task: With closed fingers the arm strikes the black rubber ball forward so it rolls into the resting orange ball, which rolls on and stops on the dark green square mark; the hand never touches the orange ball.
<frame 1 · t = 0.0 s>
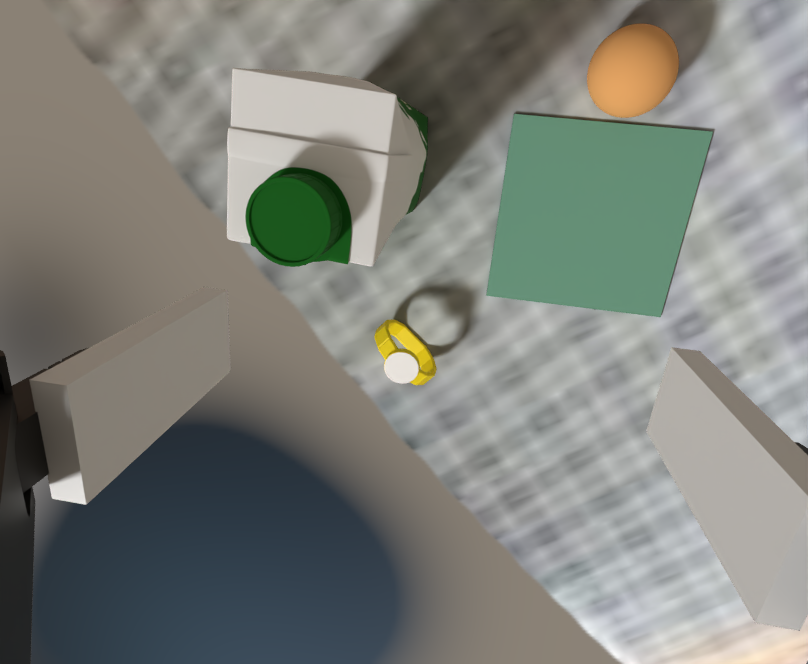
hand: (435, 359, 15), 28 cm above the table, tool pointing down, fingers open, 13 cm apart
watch: (410, 339, 46), on the table
green mark: (590, 219, 40), on the table
milk carton: (377, 157, 41), on the table
ball orange: (631, 72, 34), on the table
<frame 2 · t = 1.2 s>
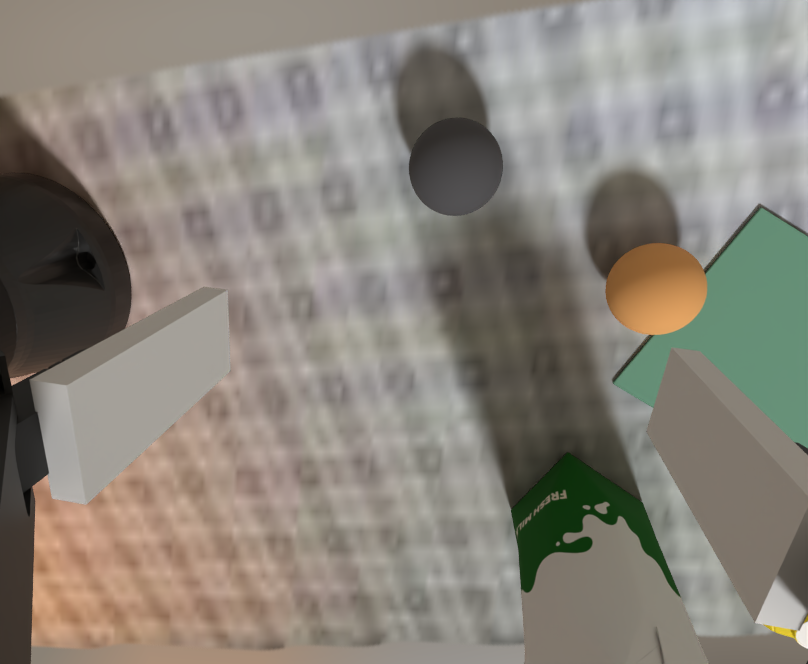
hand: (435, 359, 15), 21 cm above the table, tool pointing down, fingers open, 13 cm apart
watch: (771, 565, 40), on the table
cue ball black: (455, 168, 31), on the table
green mark: (769, 356, 34), on the table
milk carton: (574, 503, 40), on the table
ball orange: (654, 289, 31), on the table
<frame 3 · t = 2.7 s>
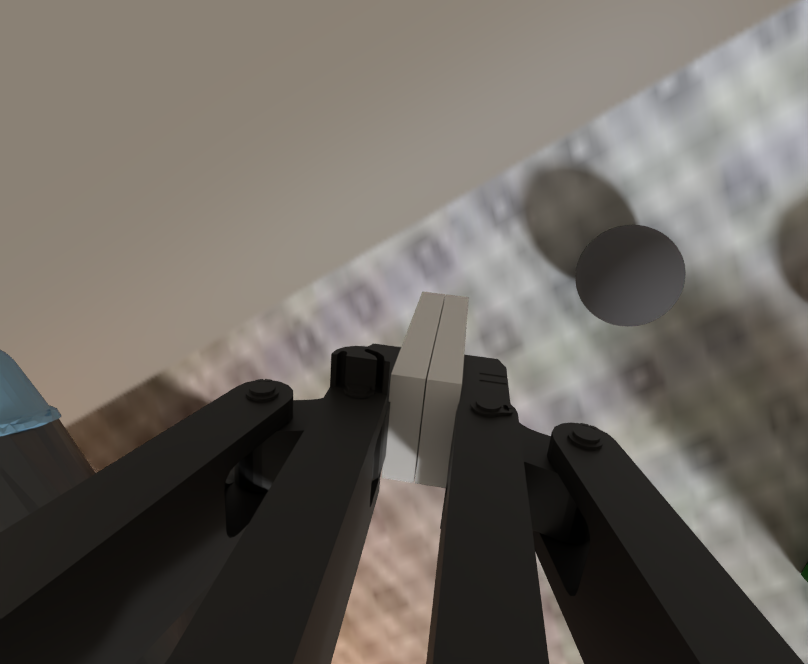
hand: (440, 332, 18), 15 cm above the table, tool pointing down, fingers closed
cue ball black: (628, 276, 28), on the table
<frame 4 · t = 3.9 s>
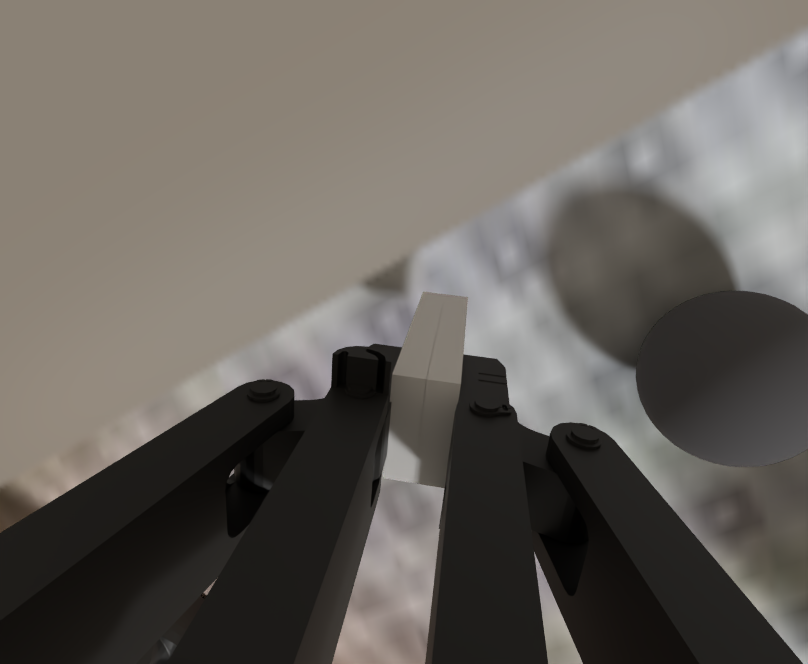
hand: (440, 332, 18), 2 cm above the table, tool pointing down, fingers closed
cue ball black: (730, 377, 16), on the table
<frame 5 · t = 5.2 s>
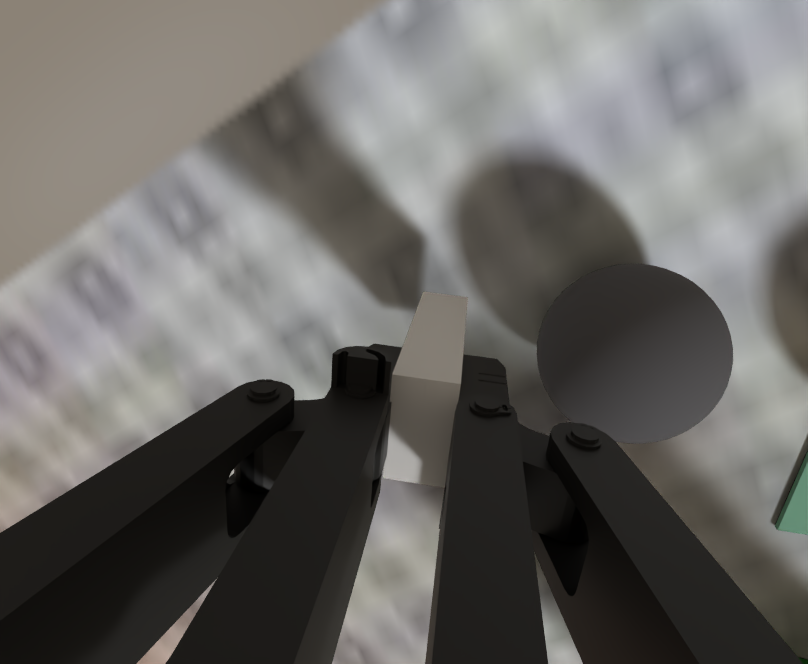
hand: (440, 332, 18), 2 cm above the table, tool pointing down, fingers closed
cue ball black: (628, 353, 16), on the table
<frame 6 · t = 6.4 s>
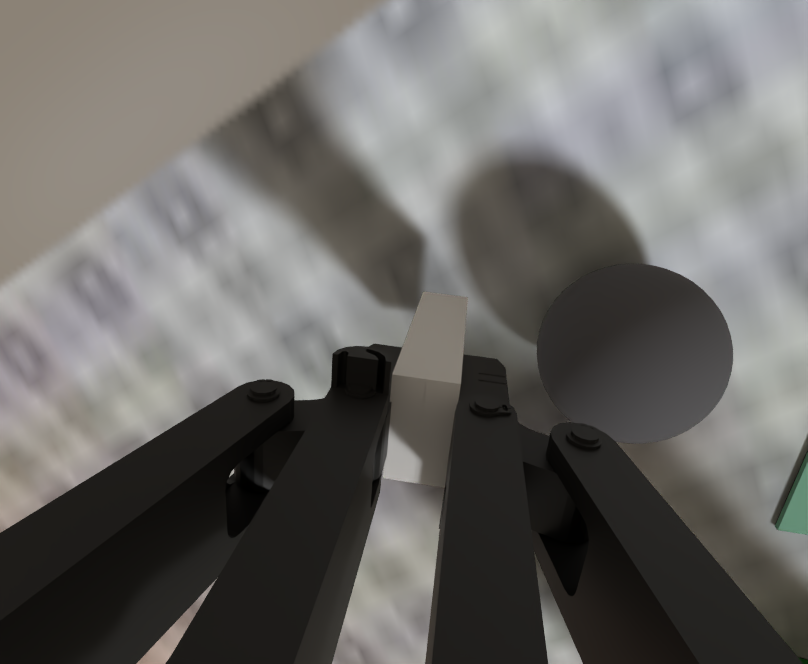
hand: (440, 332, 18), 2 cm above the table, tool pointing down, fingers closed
cue ball black: (628, 353, 16), on the table
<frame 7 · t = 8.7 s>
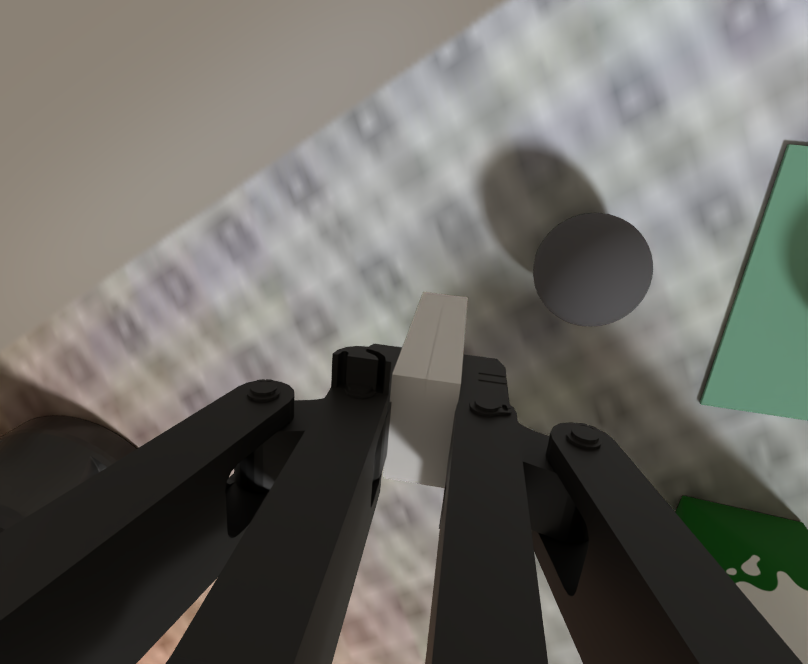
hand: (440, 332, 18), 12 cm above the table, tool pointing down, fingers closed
cue ball black: (590, 270, 25), on the table
milk carton: (717, 547, 33), on the table
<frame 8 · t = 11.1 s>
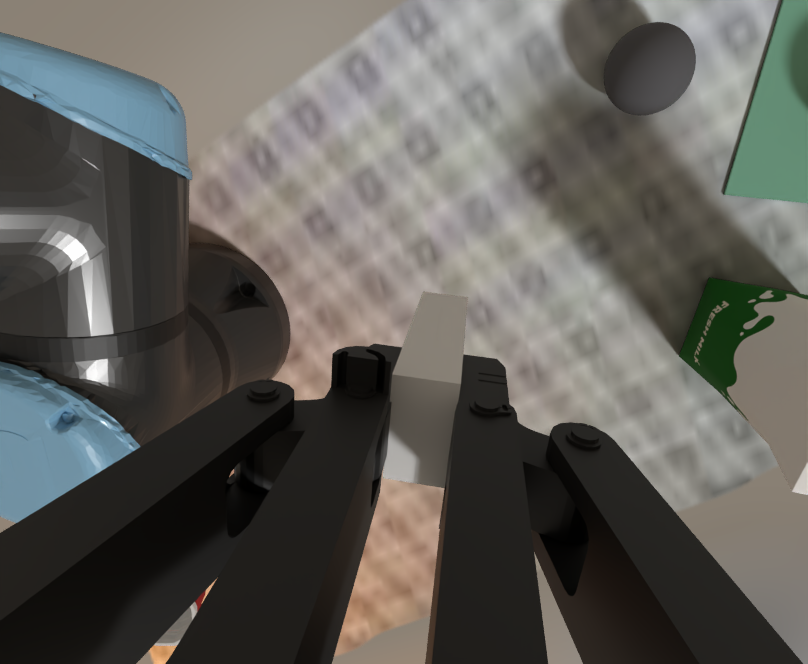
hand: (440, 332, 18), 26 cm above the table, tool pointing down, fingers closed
cue ball black: (648, 70, 34), on the table
milk carton: (735, 324, 42), on the table
plastic cup: (206, 514, 57), on the table
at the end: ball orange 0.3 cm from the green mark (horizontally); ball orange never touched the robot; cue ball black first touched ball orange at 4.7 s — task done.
